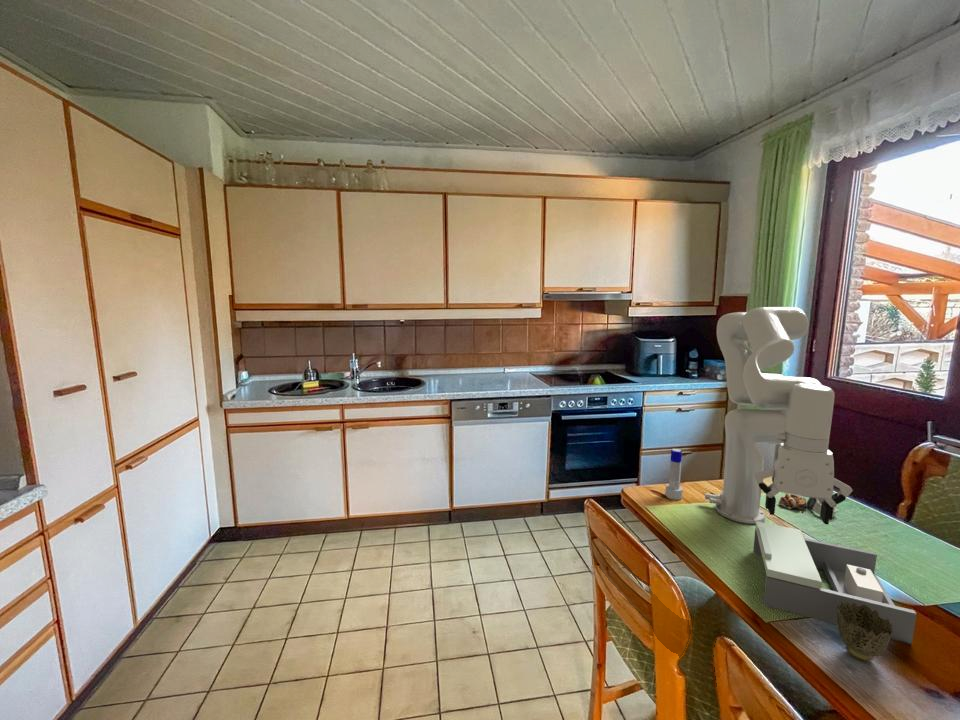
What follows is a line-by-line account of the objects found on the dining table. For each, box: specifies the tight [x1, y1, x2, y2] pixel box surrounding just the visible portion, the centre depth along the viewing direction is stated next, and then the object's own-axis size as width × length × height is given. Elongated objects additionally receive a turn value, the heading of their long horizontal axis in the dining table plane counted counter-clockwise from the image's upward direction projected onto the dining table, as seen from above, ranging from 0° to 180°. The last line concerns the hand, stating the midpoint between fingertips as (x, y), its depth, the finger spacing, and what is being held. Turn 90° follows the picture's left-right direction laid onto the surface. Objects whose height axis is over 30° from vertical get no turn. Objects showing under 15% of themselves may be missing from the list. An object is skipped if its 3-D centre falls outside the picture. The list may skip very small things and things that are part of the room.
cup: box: [837, 602, 894, 663], centre depth 76 cm, size 8×7×8 cm
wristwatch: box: [806, 497, 838, 519], centre depth 128 cm, size 9×6×5 cm
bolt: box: [664, 448, 684, 501], centre depth 136 cm, size 16×5×5 cm
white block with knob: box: [844, 564, 883, 602], centre depth 90 cm, size 4×8×6 cm, turn 152°
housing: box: [752, 528, 917, 645], centre depth 93 cm, size 23×21×6 cm
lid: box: [755, 521, 823, 589], centre depth 96 cm, size 9×21×3 cm, turn 153°
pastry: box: [778, 494, 807, 514], centre depth 133 cm, size 7×12×4 cm, turn 142°
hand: (796, 516), depth 94 cm, fingers open, 9 cm apart
